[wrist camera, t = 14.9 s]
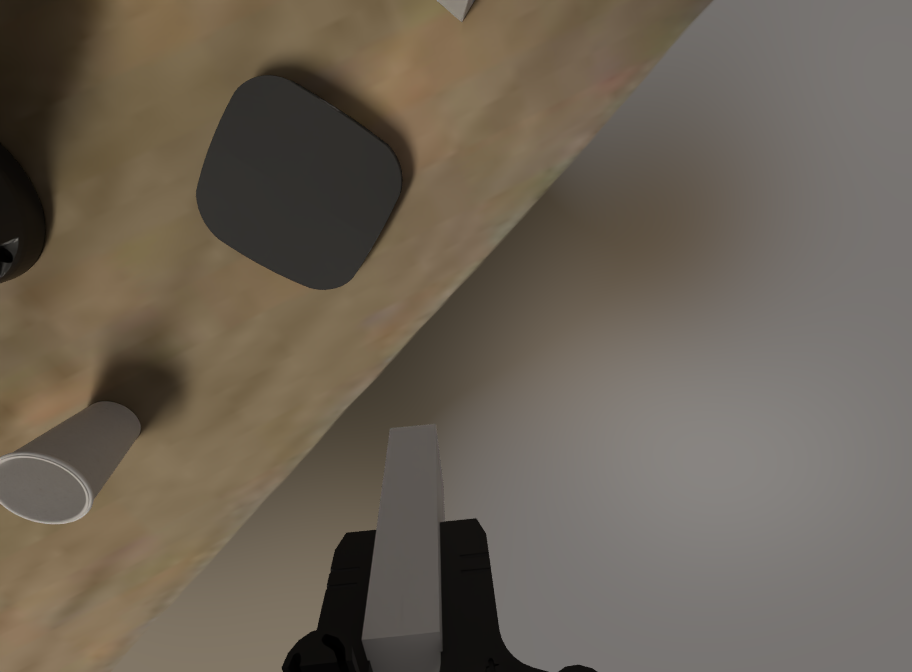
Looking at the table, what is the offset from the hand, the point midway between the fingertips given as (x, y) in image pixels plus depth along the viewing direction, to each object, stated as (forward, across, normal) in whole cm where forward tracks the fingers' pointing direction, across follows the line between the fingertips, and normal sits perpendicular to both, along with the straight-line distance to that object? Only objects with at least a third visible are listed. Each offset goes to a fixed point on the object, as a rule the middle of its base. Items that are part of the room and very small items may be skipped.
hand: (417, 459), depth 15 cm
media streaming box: (+30, -10, +6) cm, 32 cm away
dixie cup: (+30, -36, -16) cm, 49 cm away
